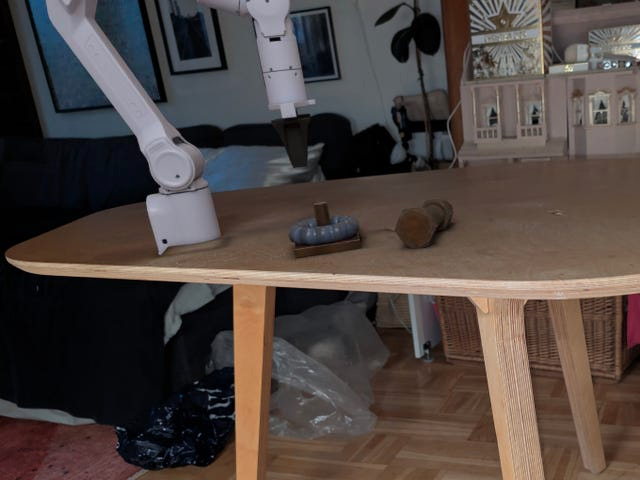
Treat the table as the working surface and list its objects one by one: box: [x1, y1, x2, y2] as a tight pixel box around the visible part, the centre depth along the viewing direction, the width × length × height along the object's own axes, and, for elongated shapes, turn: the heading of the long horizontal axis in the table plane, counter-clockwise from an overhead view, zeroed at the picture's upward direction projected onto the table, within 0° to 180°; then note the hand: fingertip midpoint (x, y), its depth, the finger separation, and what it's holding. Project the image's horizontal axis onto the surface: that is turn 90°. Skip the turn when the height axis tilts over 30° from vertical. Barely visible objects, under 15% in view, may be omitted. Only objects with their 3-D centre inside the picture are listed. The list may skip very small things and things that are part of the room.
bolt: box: [394, 198, 454, 249], centre depth 100 cm, size 6×5×15 cm
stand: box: [293, 201, 362, 259], centre depth 100 cm, size 9×9×6 cm
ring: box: [287, 214, 360, 245], centre depth 100 cm, size 10×10×2 cm
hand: (300, 164), depth 110 cm, fingers open, 7 cm apart
